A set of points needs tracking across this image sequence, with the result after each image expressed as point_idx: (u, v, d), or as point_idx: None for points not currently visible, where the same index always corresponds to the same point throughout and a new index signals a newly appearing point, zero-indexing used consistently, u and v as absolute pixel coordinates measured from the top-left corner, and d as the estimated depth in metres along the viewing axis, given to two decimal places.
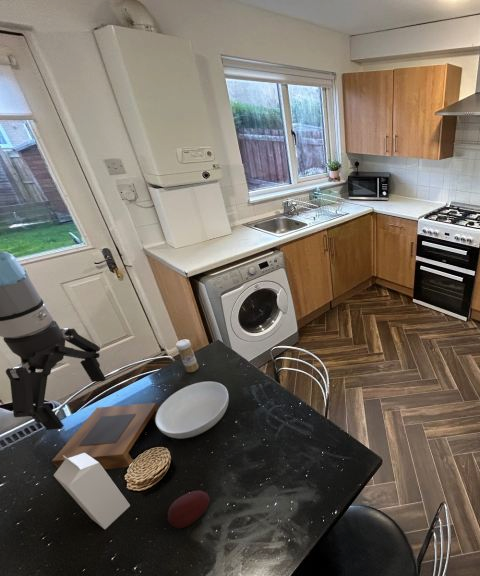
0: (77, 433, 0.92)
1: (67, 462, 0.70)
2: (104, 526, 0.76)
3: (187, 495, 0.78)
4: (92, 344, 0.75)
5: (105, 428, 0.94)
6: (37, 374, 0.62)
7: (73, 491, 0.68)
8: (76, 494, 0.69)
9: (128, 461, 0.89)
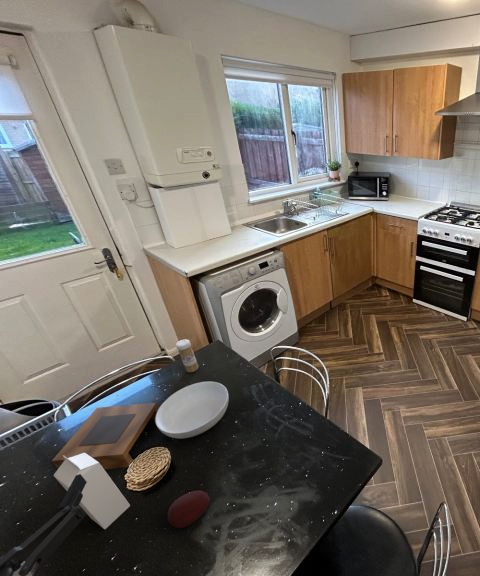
0: (77, 433, 0.92)
1: (67, 462, 0.70)
2: (104, 526, 0.76)
3: (187, 495, 0.78)
4: None
5: (105, 428, 0.94)
6: None
7: None
8: None
9: (128, 461, 0.89)
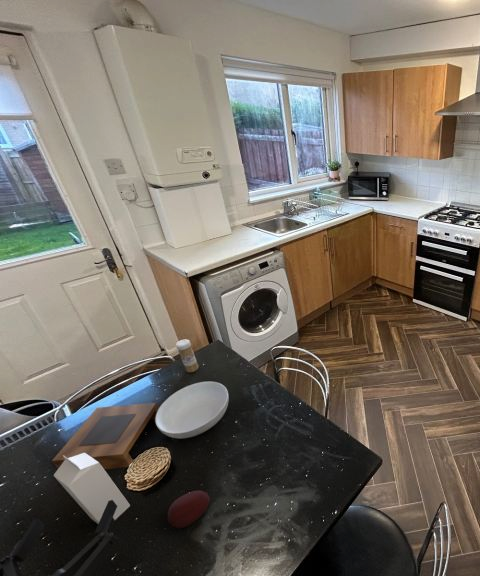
0: (77, 433, 0.92)
1: (67, 462, 0.70)
2: None
3: (187, 495, 0.78)
4: None
5: (105, 428, 0.94)
6: None
7: (73, 491, 0.68)
8: (76, 494, 0.69)
9: (128, 461, 0.89)
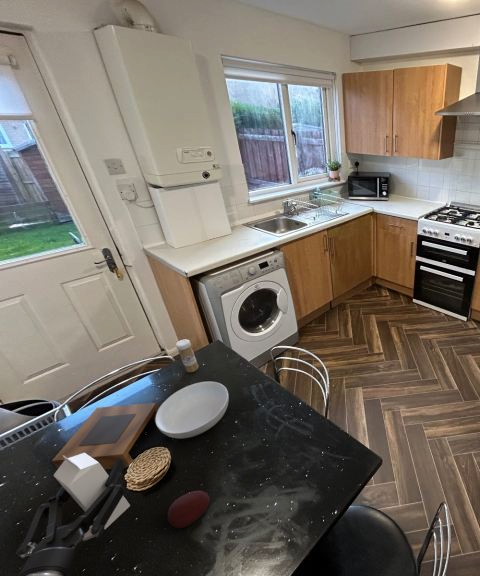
0: (77, 433, 0.92)
1: (67, 462, 0.70)
2: None
3: (187, 495, 0.78)
4: None
5: (105, 428, 0.94)
6: None
7: (73, 491, 0.68)
8: (76, 494, 0.69)
9: (128, 461, 0.89)
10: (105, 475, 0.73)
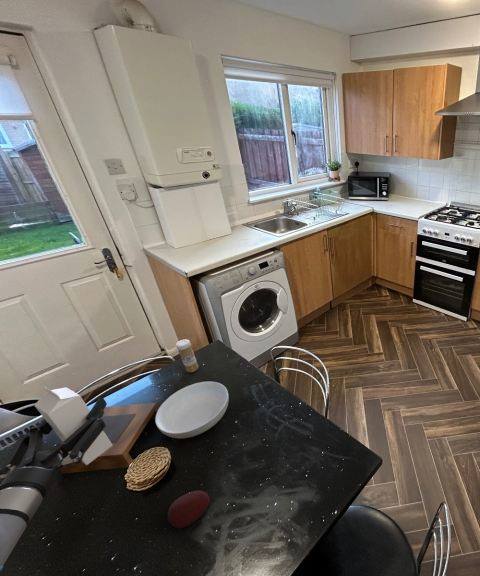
0: None
1: (48, 393, 0.71)
2: (86, 462, 0.77)
3: (187, 495, 0.78)
4: None
5: (105, 428, 0.94)
6: None
7: (53, 420, 0.69)
8: (56, 424, 0.70)
9: (128, 461, 0.89)
10: (86, 409, 0.75)
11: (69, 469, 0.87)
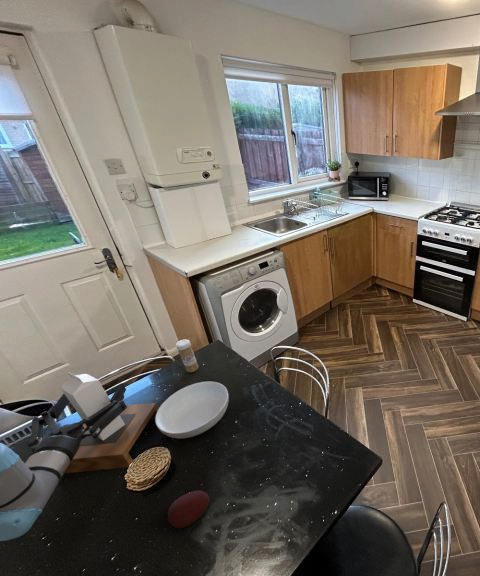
0: None
1: (72, 378, 0.84)
2: (102, 437, 0.90)
3: (187, 495, 0.78)
4: None
5: None
6: None
7: (77, 400, 0.82)
8: (79, 403, 0.83)
9: (128, 461, 0.89)
10: (103, 392, 0.88)
11: (69, 469, 0.87)
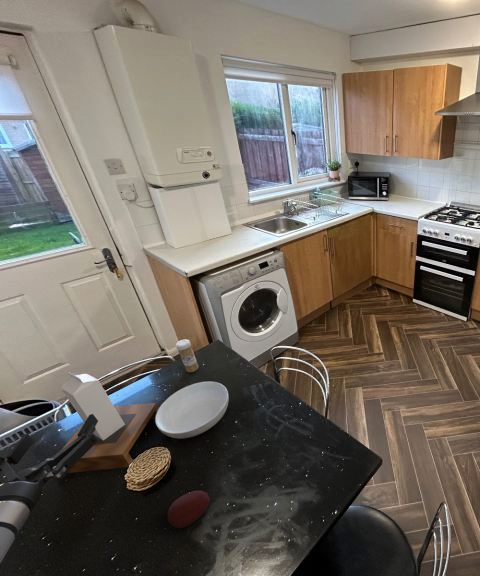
0: (77, 433, 0.92)
1: (72, 378, 0.84)
2: (102, 437, 0.90)
3: (187, 495, 0.78)
4: None
5: None
6: None
7: (77, 400, 0.82)
8: (79, 403, 0.83)
9: (128, 461, 0.89)
10: (103, 392, 0.88)
11: None
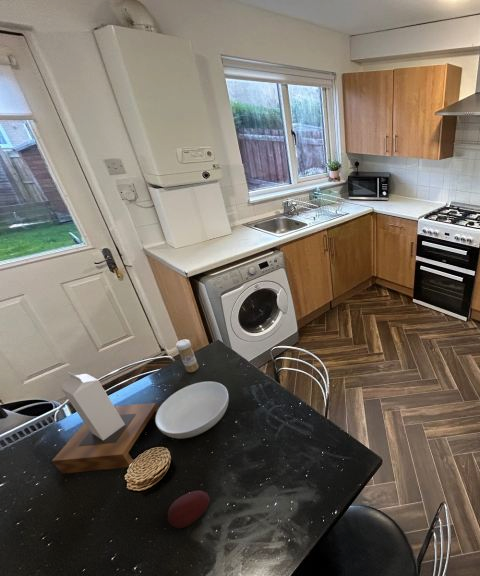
0: (77, 433, 0.92)
1: (72, 378, 0.84)
2: (102, 437, 0.90)
3: (187, 495, 0.78)
4: None
5: None
6: None
7: (77, 400, 0.82)
8: (79, 403, 0.83)
9: (128, 461, 0.89)
10: (103, 392, 0.88)
11: (69, 469, 0.87)
